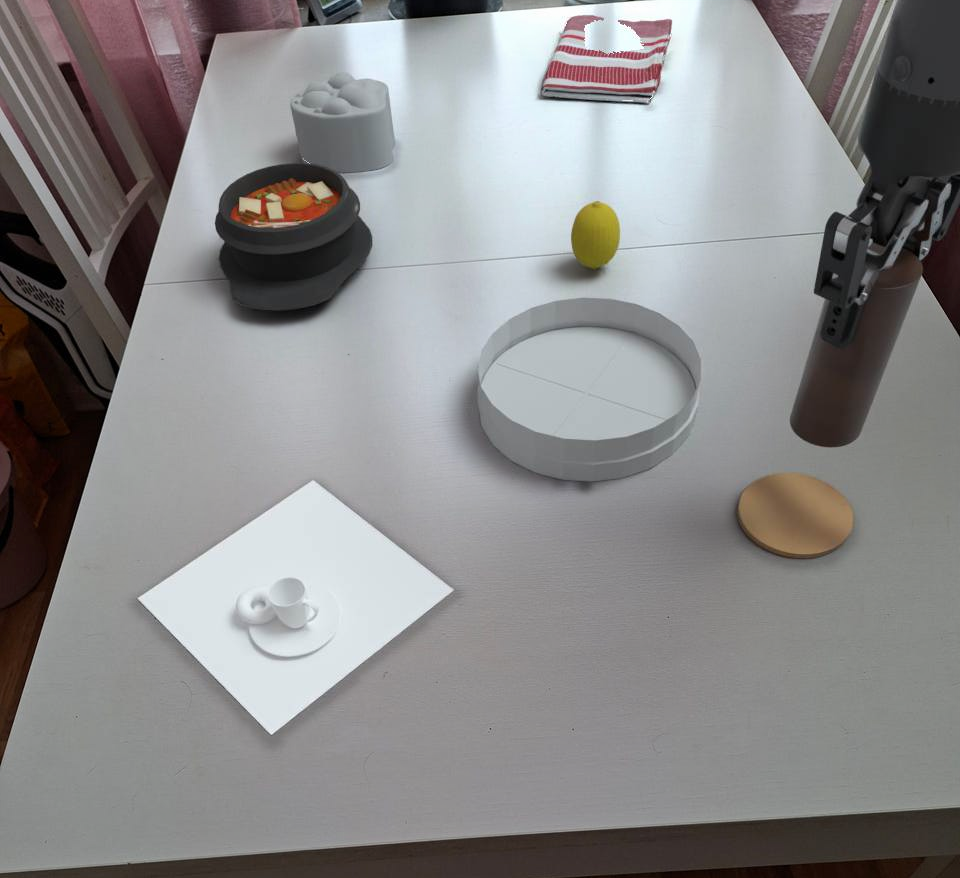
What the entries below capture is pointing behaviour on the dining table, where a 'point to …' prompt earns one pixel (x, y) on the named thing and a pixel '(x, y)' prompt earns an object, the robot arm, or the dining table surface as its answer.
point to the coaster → (795, 515)
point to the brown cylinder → (854, 360)
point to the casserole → (290, 236)
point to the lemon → (595, 234)
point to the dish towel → (607, 64)
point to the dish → (588, 388)
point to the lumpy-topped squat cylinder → (344, 124)
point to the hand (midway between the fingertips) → (860, 321)
